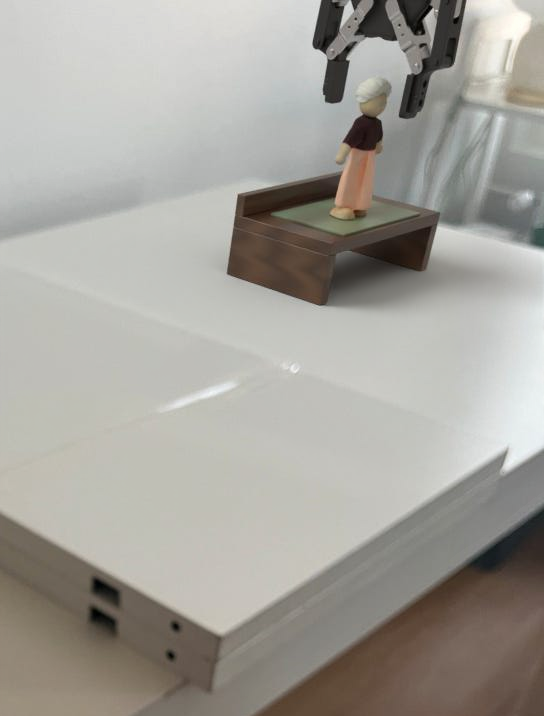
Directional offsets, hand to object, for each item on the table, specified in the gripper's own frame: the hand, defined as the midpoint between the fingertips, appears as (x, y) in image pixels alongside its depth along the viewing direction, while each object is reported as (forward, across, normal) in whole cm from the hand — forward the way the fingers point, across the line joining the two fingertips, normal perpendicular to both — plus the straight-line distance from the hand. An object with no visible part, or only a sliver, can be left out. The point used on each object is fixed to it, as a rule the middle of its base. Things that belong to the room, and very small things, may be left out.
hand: (369, 110), depth 101 cm
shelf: (+16, -1, 0) cm, 16 cm away
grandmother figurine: (+10, 0, 0) cm, 10 cm away
